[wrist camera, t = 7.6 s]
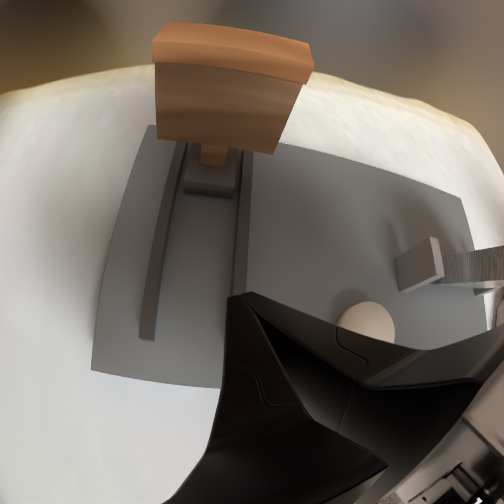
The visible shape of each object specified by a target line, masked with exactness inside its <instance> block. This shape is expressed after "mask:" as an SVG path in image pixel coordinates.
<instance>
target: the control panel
mask: <svg viewBox="0 0 504 504" xmlns="http://www.w3.org/2000/svg"><path fill="white" fill-rule="evenodd" d="M191 146H192V143H191V142H182V141H172V140H161V139H157V126H154V125H148V128H147V130H146V133H145V135H144V138H143V140H142V143H141V146H140V148H139V151H138V154H137V157H136V159H135V162H134V165H133V168H132V171H131V174H130V177H129V180H128V183H127V186H126V189H125V193H124V196H123V199H122V203H121V206H120V210H119V213H118V217H117V220H116V224H115V228H114V232H113V236H112V240H111V244H110V248H109V253H108V257H107V262H106V266H105V271H104V276H103V281H102V287H101V292H100V298H99V304H98V311H97V317H96V324H95V332H94V341H93V350H92V361H91V370H93V371H98V372H102V373H107V374H112V375H117V376H122V377H128V378H134V379H140V380H146V381H153V382H160V383H167V384H175V385H184V386H194V387H206V388H220V389H221V384H222V374H223V357H224V337H225V319H226V302H227V297H230V296H234V295H240V294H242V293H246V292H250V291H253V292H255V293H258V294H260V295H263V296H265V297H267V298H270V299H272V300H275V301H277V302H279V303H282V304H284V305H287V306H289V307H292V308H294V309H297V310H299V311H302V312H304V313H307V314H309V315H312V316H314V317H317V318H319V319H322V320H324V321H327V322H329V323H332V324H335V325H336V326H340V327H343V328H345V329H348V330H351V331H353V332H356V333H359V334H362V335H365V336H369V337H372V338H376V339H379V340H383V341H387V342H390V343H394V344H398V345H402V346H406V347H410V348H414V349H420V350H431V349H437V348H440V347H443V346H446V345H450V344H453V343H456V342H459V341H462V340H464V339H467V338H470V337H473V336H476V335H478V334H481V333H484V332H486V331H487V323H486V313H485V305H484V297H483V295H484V294H486V293H489V292H491V291H494V290H496V289H499V288H501V287H498V288H480V289H477V288H465V287H453V286H441V285H431V284H430V283H431V282H433V281H435V280H437V279H439V278H441V277H444V276H445V274H444V268H443V262H442V257H441V256H446V255H453V254H459V253H465V252H470V251H475V249H474V244H473V240H472V236H471V232H470V229H469V225H468V221H467V218H466V214H465V211H464V208H463V205H462V202H461V199H460V198H459V197H456V196H454V195H451V194H449V193H446V192H444V191H441V190H439V189H436V188H434V187H431V186H429V185H426V184H423V183H420V182H418V181H415V180H412V179H409V178H406V177H404V176H401V175H398V174H395V173H392V172H389V171H386V170H382V169H379V168H376V167H373V166H369V165H366V164H363V163H359V162H356V161H352V160H349V159H345V158H342V157H338V156H334V155H330V154H326V153H322V152H318V151H314V150H310V149H306V148H301V147H297V146H292V145H287V144H283V143H278V144H277V146H276V149H275V151H274V153H273V155H270V154H265V153H259V152H253V151H248V150H241V149H238V157H237V167H236V177H235V187H234V191H233V194H232V198H231V199H230V198H223V197H216V196H208V195H201V194H193V193H184V192H183V187H184V176H185V172H186V167H187V163H188V158H189V154H190V150H191Z"/></svg>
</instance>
